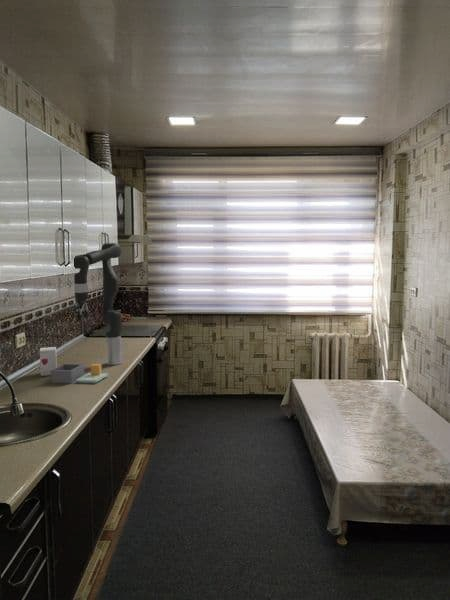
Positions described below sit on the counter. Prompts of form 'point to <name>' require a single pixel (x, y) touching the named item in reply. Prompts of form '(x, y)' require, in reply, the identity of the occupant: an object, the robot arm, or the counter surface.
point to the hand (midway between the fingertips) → (82, 319)
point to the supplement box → (47, 360)
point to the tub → (67, 373)
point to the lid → (93, 375)
